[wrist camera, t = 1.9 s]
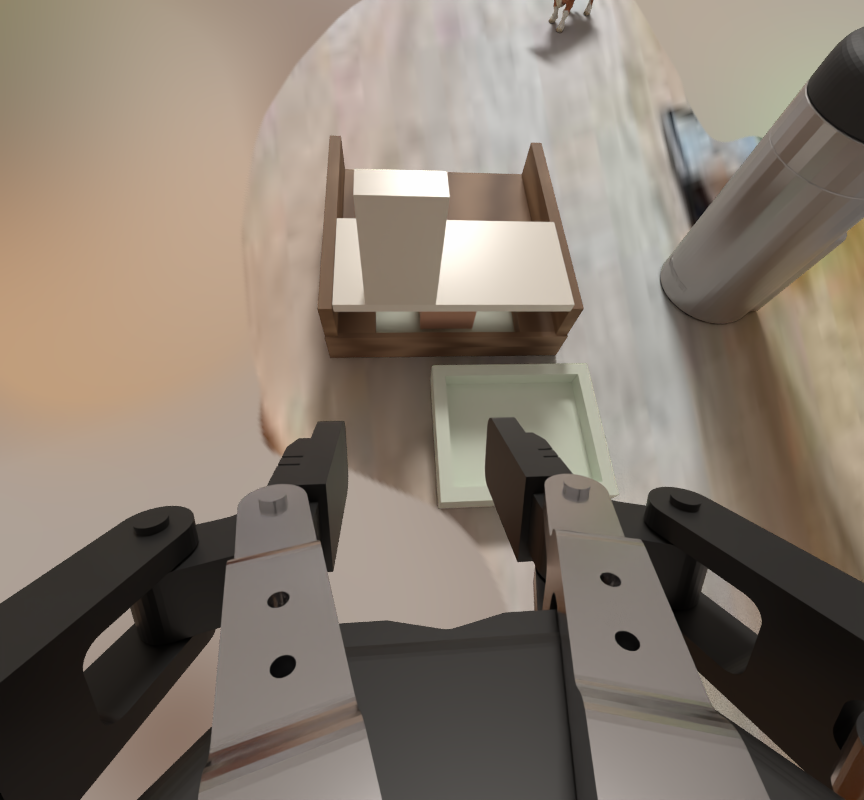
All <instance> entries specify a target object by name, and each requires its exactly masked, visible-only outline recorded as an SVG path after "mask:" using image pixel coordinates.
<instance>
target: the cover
mask: <svg viewBox="0 0 864 800" xmlns="http://www.w3.org/2000/svg"><path fill="white" fill-rule="evenodd" d="M353 196H354V205H355V214H356V219H355V218H337V225H336V244H335V263H334V282H333V301H332V306H333V310H334V312H488V311H571V310H572V308H573V306H574V301H573V296H572V292H571V288H570V284H569V280H568V276H567V272H566V268H565V264H564V260H563V256H562V252H561V248H560V244H559V240H558V235H557V231H556V227H555V223H554V222H521V221H466V220H447V214H448V206H449V198H450V195H449V186H448V176H447V171H420V170H385V169H354V190H353Z"/></svg>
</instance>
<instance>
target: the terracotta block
mask: <svg viewBox="0 0 864 800" xmlns="http://www.w3.org/2000/svg"><path fill="white" fill-rule="evenodd" d="M419 314H420V329H472V327H473V323H474V320H475V316H476V312H419Z"/></svg>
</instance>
